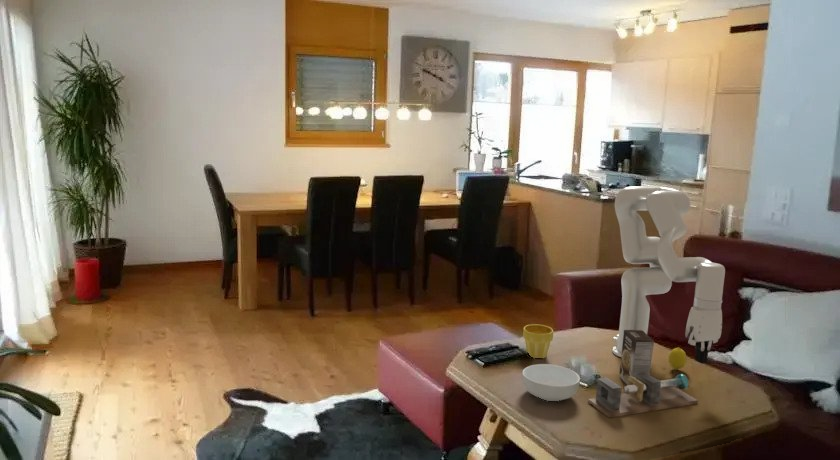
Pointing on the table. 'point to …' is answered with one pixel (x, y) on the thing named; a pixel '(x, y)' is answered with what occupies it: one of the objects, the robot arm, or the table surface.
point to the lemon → (677, 358)
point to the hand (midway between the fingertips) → (700, 361)
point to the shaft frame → (637, 397)
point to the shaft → (662, 384)
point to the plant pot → (537, 339)
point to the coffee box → (635, 354)
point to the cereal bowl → (550, 381)
